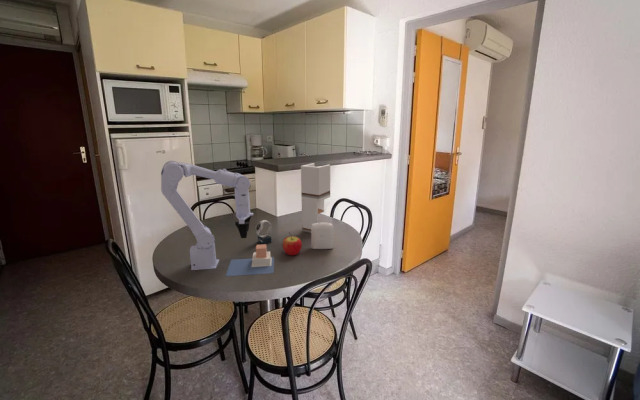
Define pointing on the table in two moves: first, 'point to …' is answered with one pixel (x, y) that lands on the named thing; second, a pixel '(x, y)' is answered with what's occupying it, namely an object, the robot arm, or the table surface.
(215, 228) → the table surface
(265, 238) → the watch
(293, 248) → the apple
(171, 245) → the table surface
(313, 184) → the tall white column
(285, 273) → the table surface
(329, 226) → the photo printer
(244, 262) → the blueprint board
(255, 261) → the base block
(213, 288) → the table surface
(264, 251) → the terracotta block
